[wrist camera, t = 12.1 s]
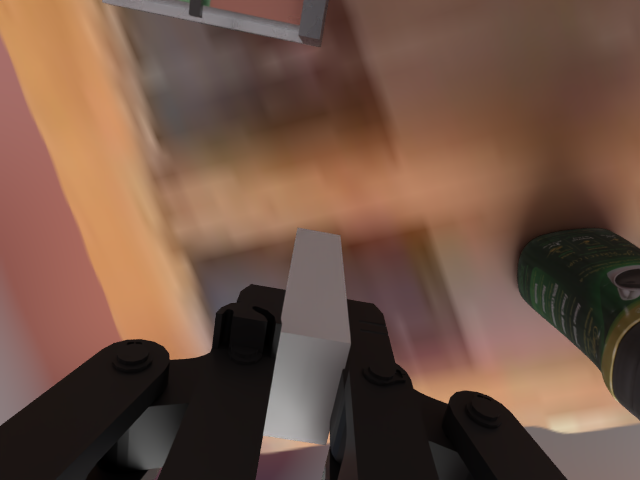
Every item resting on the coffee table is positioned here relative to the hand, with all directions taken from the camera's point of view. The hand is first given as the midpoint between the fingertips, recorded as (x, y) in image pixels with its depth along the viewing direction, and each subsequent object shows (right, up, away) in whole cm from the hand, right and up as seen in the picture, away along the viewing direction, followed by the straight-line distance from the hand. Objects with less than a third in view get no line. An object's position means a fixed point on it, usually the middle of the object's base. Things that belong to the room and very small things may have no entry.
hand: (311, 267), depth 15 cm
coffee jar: (+24, -1, +27) cm, 36 cm away
